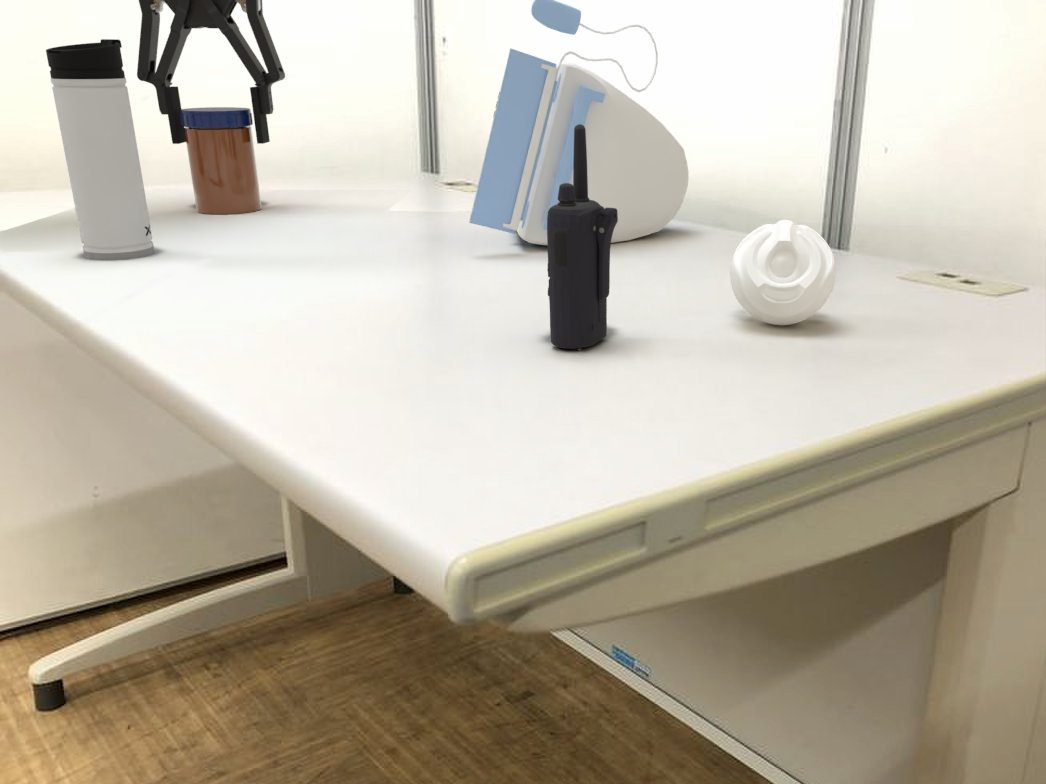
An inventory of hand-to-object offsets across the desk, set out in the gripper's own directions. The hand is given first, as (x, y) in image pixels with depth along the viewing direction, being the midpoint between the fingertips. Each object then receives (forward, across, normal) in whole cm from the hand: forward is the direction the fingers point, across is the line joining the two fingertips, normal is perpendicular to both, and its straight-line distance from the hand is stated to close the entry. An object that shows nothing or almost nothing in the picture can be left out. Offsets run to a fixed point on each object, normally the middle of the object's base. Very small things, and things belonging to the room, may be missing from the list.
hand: (221, 142), depth 132 cm
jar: (+8, 0, 0) cm, 8 cm away
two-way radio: (+9, +46, -65) cm, 80 cm away
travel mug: (+8, 0, -33) cm, 34 cm away
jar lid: (-4, 0, 0) cm, 4 cm away
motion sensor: (+9, +61, -59) cm, 85 cm away
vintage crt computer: (+9, +44, -20) cm, 49 cm away
